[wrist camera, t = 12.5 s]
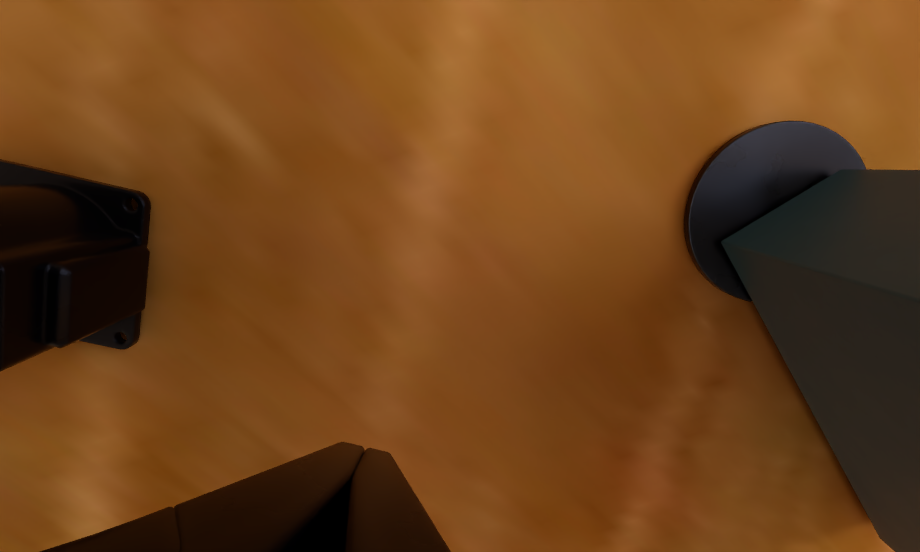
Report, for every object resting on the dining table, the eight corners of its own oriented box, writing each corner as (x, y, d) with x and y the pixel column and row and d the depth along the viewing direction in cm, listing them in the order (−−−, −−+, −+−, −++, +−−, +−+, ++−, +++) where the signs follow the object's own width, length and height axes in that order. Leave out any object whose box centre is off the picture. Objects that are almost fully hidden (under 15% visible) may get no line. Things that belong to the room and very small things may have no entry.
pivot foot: (659, 279, 19) (663, 281, 19) (719, 101, 18) (725, 100, 18) (821, 316, 20) (828, 319, 19) (893, 146, 18) (903, 145, 18)
